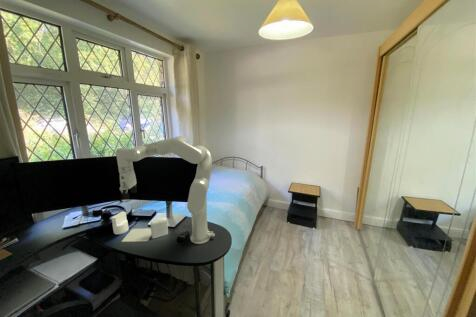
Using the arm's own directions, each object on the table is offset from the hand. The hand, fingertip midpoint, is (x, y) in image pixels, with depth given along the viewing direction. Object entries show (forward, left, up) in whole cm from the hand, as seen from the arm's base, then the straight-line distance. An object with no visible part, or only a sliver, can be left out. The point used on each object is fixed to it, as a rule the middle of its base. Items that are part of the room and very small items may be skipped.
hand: (130, 195), depth 120 cm
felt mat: (0, -4, -30) cm, 30 cm away
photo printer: (-14, -3, -30) cm, 33 cm away
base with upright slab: (+15, -10, -30) cm, 35 cm away
